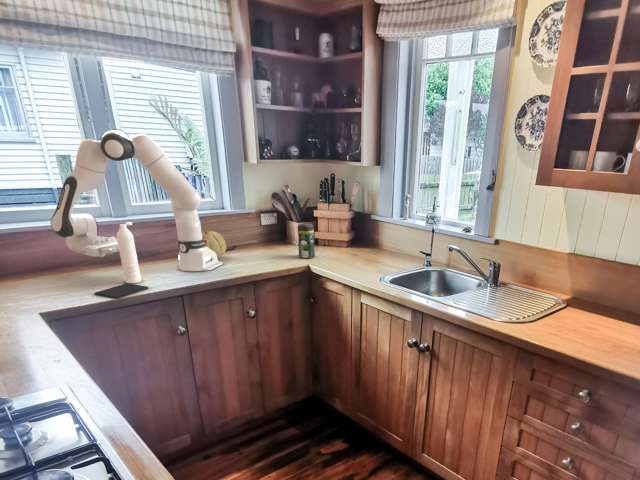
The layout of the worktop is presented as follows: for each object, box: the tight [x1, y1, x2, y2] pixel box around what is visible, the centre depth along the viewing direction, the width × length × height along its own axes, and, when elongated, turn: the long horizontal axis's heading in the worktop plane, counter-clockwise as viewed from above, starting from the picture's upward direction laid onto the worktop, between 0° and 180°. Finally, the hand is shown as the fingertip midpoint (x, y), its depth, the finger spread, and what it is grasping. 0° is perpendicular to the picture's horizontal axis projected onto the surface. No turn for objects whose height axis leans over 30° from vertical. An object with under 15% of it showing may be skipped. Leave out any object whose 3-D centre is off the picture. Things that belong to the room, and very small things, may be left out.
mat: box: [94, 282, 149, 299], centre depth 194 cm, size 16×12×1 cm
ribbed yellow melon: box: [202, 230, 227, 259], centre depth 247 cm, size 15×15×15 cm
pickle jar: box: [297, 222, 316, 260], centre depth 257 cm, size 10×8×19 cm
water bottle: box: [115, 221, 142, 284], centre depth 203 cm, size 9×6×25 cm
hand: (120, 249), depth 204 cm, fingers open, 8 cm apart
